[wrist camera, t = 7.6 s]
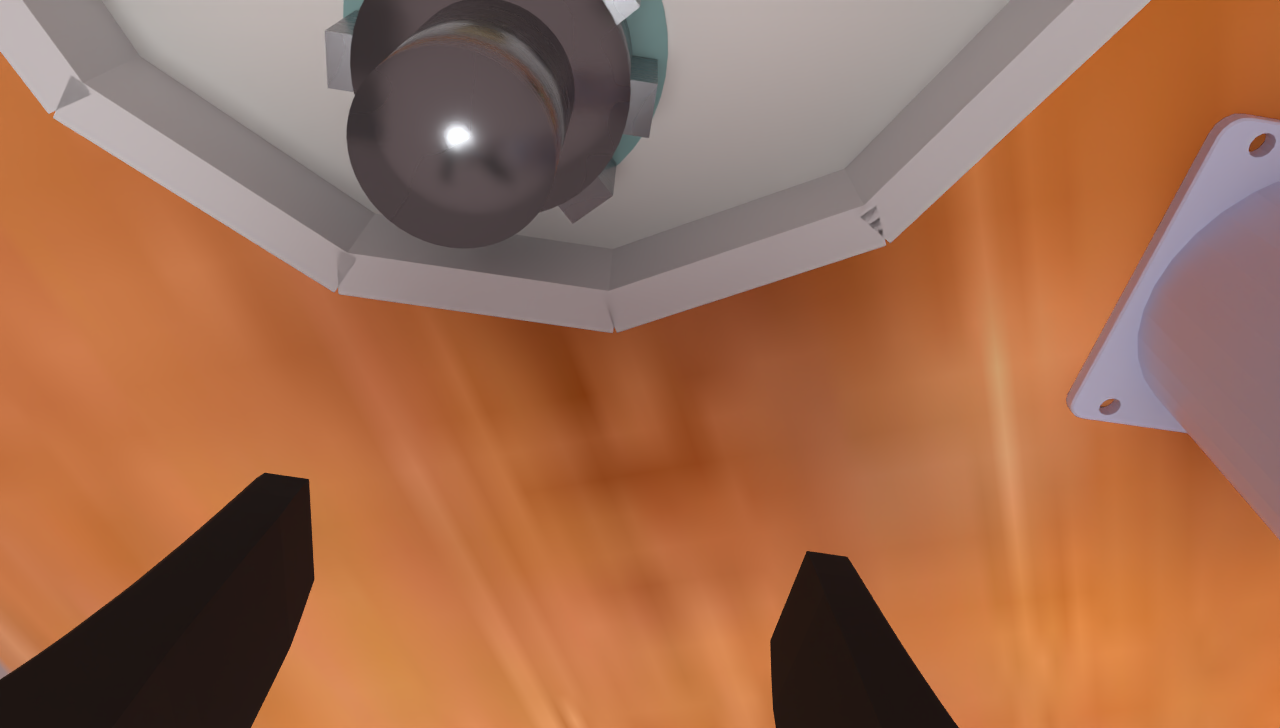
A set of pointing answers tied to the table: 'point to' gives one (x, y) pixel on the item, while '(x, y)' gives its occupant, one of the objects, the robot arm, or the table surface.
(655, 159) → the carrier
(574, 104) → the planet gear
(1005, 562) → the table surface
